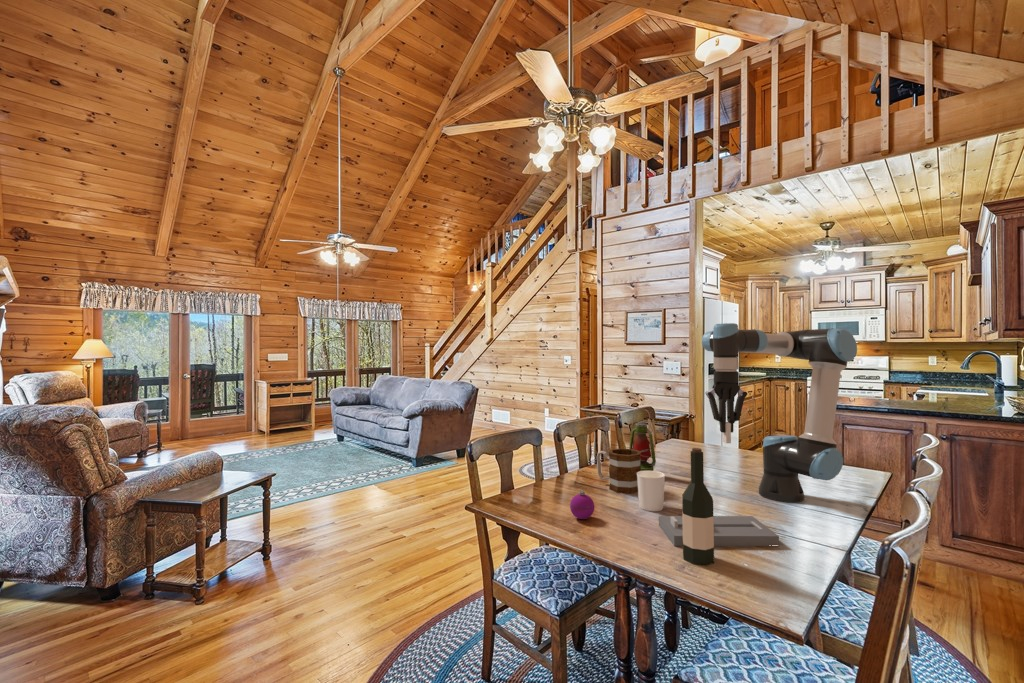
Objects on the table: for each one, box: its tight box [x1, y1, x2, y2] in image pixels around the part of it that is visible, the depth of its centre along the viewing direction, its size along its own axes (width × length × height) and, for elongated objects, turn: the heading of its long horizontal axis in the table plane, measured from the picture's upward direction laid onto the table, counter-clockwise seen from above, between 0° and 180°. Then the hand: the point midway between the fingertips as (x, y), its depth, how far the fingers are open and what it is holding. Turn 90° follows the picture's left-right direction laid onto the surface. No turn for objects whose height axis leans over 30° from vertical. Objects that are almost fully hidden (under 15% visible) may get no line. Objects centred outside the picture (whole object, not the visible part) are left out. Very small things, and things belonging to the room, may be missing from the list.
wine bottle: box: [681, 447, 715, 567], centre depth 129 cm, size 8×8×30 cm
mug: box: [596, 447, 641, 495], centre depth 195 cm, size 20×14×15 cm
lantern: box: [628, 407, 657, 471], centre depth 212 cm, size 14×11×30 cm
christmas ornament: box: [569, 488, 595, 520], centre depth 160 cm, size 8×8×10 cm
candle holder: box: [637, 470, 666, 512], centre depth 170 cm, size 10×10×12 cm
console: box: [658, 515, 780, 547], centre depth 145 cm, size 30×16×5 cm, turn 88°
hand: (726, 442), depth 155 cm, fingers closed
